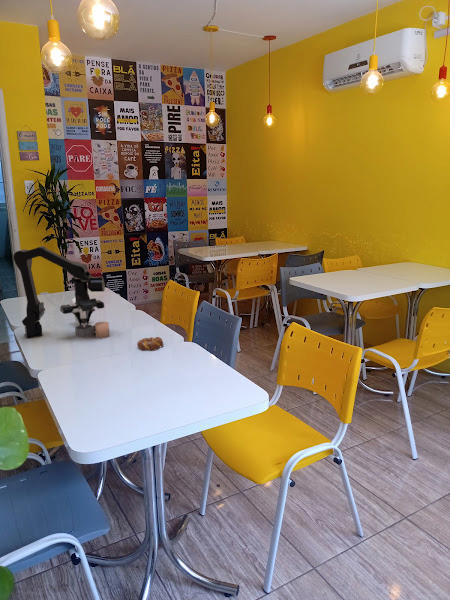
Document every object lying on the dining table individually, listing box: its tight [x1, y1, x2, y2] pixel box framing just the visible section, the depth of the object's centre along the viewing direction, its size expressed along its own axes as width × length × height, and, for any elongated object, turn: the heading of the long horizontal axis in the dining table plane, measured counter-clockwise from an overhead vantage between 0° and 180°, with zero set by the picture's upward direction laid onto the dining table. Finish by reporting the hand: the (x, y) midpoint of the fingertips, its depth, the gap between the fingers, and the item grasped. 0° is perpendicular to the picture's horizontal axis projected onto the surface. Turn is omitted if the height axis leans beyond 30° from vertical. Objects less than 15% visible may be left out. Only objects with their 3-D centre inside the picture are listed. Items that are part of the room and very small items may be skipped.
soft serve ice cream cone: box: [70, 297, 87, 326], centre depth 223 cm, size 8×8×16 cm
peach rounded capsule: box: [94, 321, 110, 339], centre depth 205 cm, size 6×6×6 cm
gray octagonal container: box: [74, 324, 96, 338], centre depth 208 cm, size 10×8×4 cm
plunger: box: [81, 318, 87, 329], centre depth 207 cm, size 6×6×7 cm
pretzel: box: [136, 336, 164, 351], centre depth 192 cm, size 12×11×4 cm
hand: (84, 324), depth 207 cm, fingers closed on plunger, 3 cm apart
